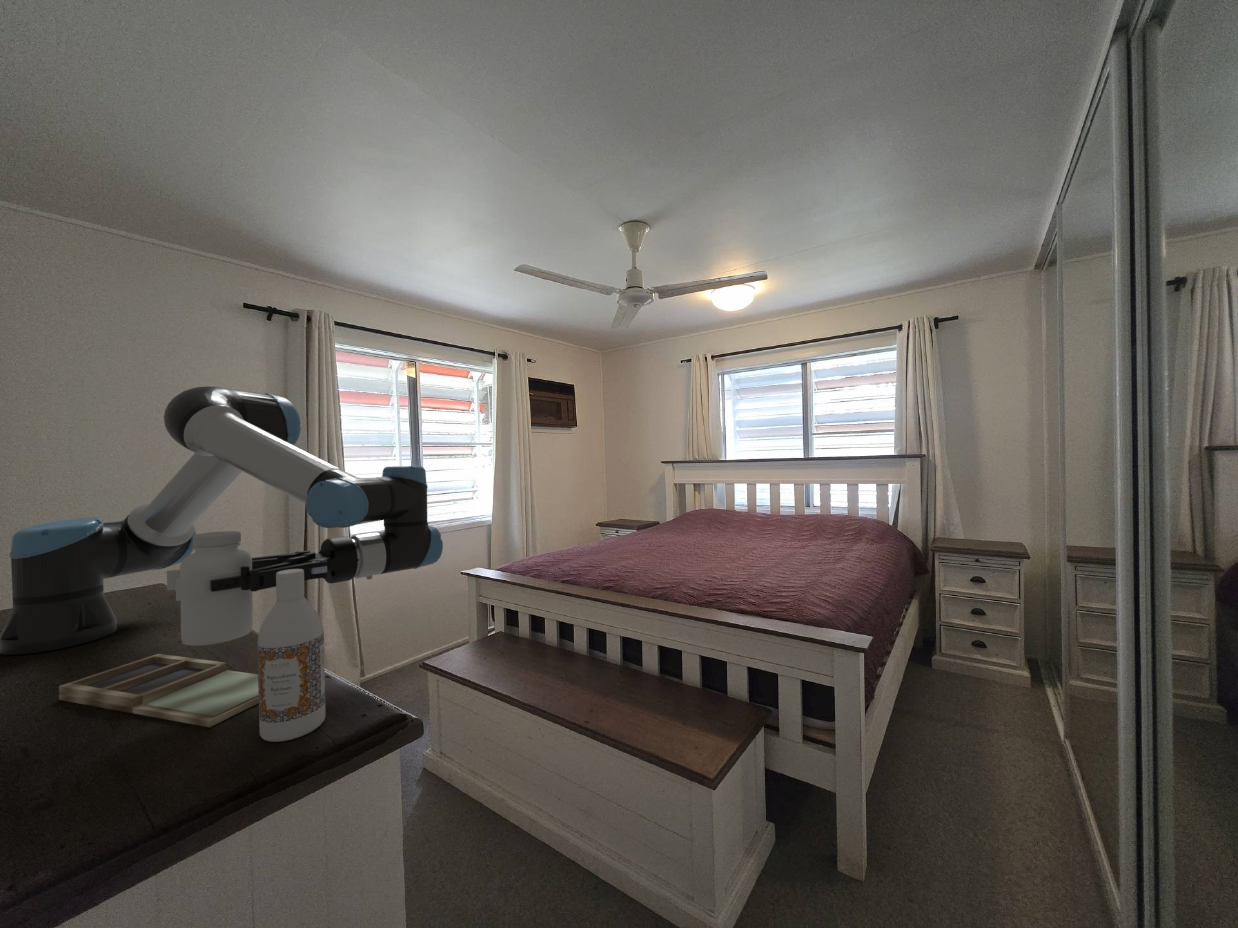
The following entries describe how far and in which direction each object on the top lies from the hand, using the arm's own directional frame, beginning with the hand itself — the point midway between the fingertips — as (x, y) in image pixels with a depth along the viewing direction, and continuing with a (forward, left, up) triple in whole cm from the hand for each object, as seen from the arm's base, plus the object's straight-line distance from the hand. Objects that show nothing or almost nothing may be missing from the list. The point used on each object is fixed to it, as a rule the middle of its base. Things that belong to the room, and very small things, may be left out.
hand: (171, 585), depth 65 cm
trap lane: (-7, 0, -17) cm, 19 cm away
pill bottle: (-1, +5, -9) cm, 10 cm away
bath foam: (+15, +14, -18) cm, 27 cm away
